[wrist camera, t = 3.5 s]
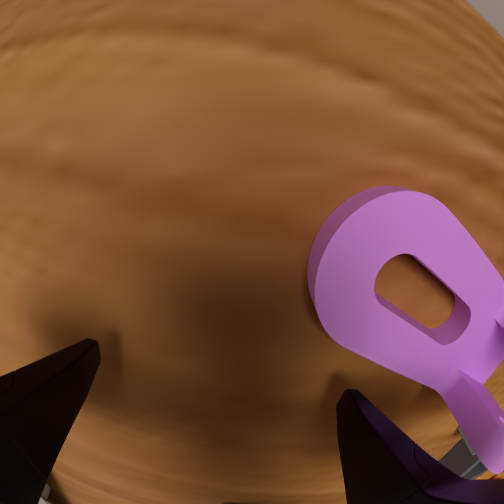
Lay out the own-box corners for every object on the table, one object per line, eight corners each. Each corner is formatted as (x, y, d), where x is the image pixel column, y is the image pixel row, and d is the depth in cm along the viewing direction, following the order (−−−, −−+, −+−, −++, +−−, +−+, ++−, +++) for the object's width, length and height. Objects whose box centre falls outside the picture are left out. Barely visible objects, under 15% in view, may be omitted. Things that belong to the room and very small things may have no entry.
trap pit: (471, 458, 16) (480, 475, 13) (422, 475, 16) (431, 497, 13) (517, 408, 14) (530, 426, 11) (476, 422, 13) (491, 446, 10)
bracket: (514, 312, 10) (585, 379, 3) (455, 387, 12) (506, 470, 5) (369, 150, 8) (572, 169, 1) (273, 291, 9) (298, 497, 3)
